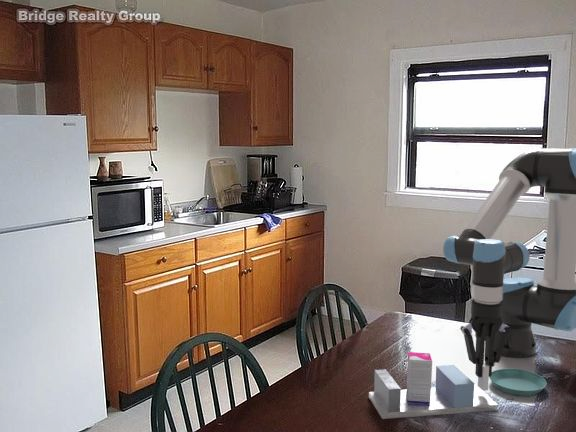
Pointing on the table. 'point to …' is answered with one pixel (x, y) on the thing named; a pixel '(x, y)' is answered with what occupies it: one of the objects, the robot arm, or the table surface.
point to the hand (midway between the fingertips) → (482, 388)
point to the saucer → (518, 382)
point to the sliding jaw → (455, 386)
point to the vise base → (395, 403)
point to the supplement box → (419, 378)
